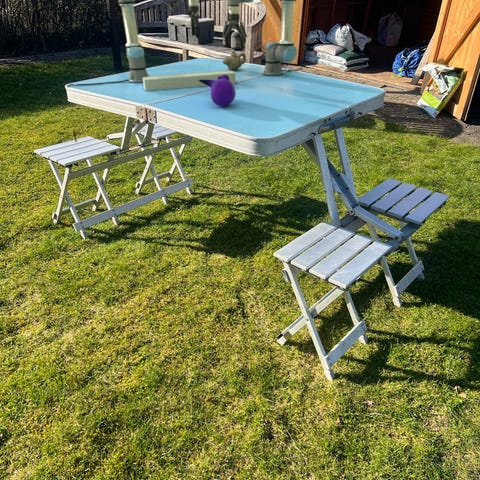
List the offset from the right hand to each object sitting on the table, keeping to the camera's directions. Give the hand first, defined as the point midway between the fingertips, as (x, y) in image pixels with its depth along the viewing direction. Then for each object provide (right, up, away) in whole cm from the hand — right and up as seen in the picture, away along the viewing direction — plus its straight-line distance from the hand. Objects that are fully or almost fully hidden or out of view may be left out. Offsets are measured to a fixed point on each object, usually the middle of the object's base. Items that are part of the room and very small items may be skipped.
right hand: (234, 48), depth 307 cm
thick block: (-32, -21, +14) cm, 41 cm away
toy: (-9, -49, -34) cm, 60 cm away
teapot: (-1, +9, +65) cm, 65 cm away
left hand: (-31, +26, +41) cm, 58 cm away
